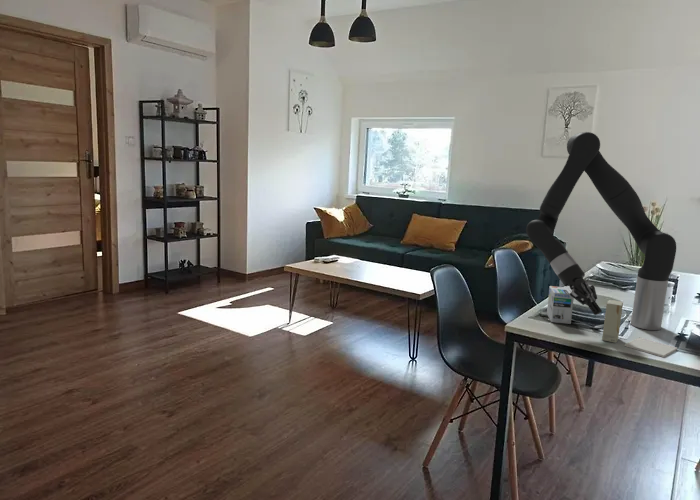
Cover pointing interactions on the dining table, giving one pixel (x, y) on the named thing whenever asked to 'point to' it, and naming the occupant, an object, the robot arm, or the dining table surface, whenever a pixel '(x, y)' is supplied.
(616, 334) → the skincare box
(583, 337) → the dining table surface
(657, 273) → the robot arm
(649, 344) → the grey mat
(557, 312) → the light bulb box
